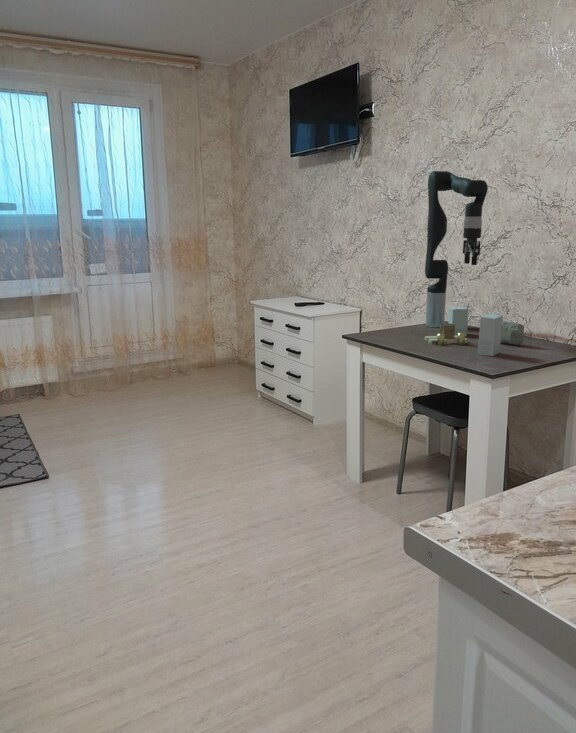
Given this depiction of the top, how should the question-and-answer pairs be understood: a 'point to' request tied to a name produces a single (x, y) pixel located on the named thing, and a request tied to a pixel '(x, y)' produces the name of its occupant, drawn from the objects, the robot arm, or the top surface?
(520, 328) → the stone
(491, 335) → the skincare box
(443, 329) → the walnut block
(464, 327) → the supplement box
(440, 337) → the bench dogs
